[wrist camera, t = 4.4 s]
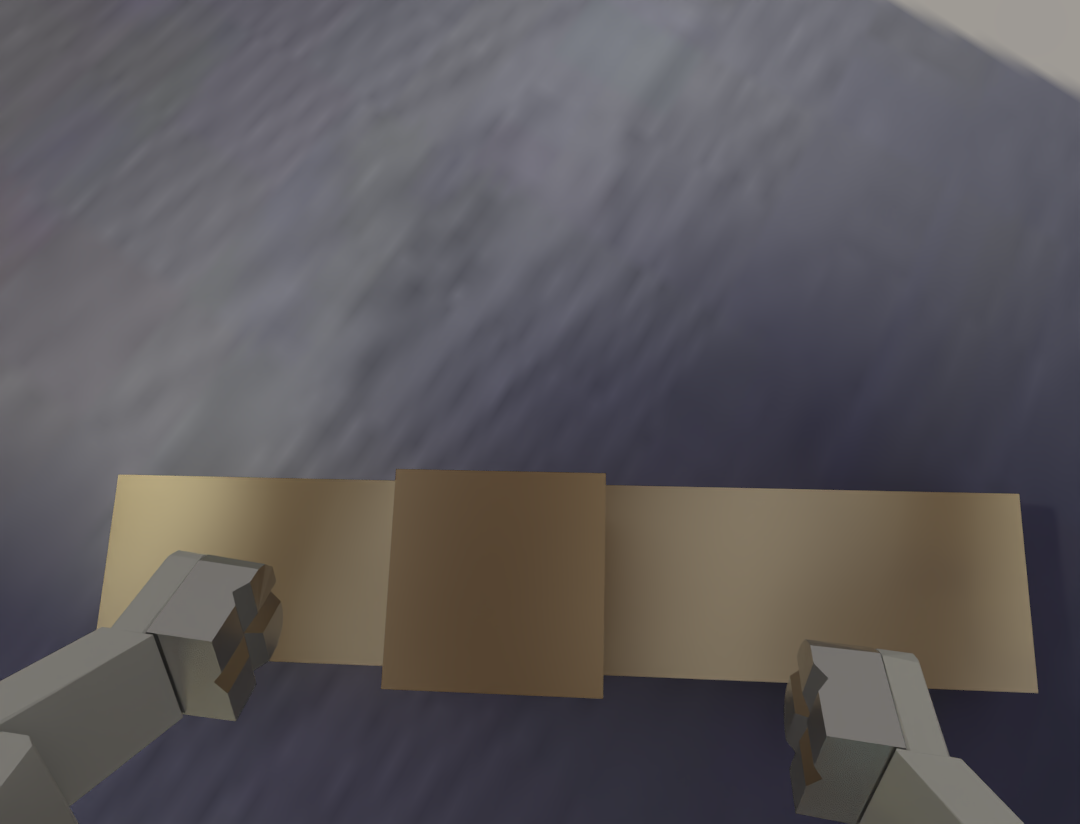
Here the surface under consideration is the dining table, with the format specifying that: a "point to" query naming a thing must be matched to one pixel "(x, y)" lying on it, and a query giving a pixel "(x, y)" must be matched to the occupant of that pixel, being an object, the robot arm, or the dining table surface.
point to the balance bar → (597, 575)
